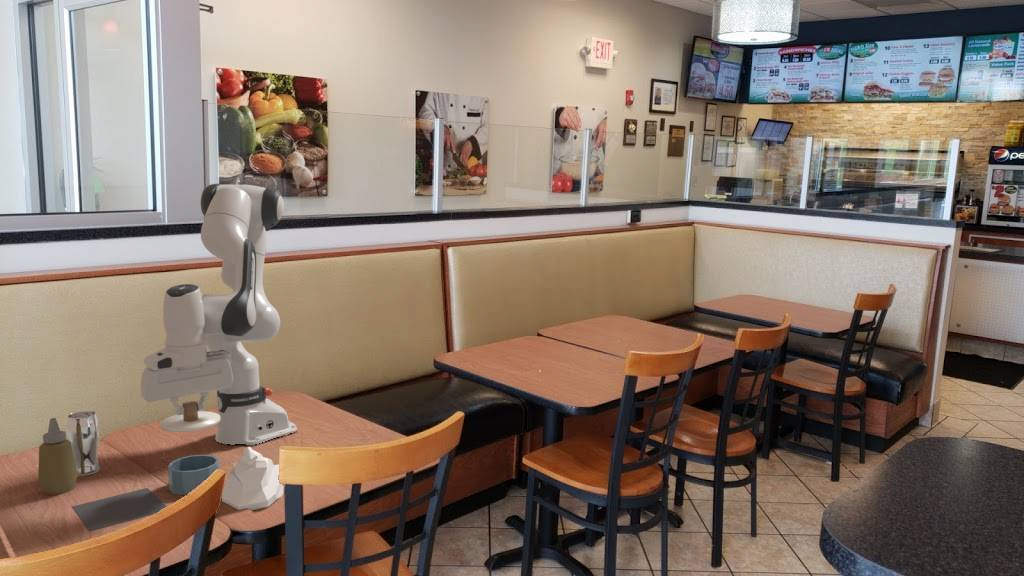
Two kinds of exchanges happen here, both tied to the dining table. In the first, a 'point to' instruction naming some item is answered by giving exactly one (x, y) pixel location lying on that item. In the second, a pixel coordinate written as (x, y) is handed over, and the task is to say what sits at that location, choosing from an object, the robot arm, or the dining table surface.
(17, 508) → the dining table surface
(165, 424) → the lid
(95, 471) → the beer glass
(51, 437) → the squeeze bottle
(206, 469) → the bowl
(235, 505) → the white faceted lump
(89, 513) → the mat
